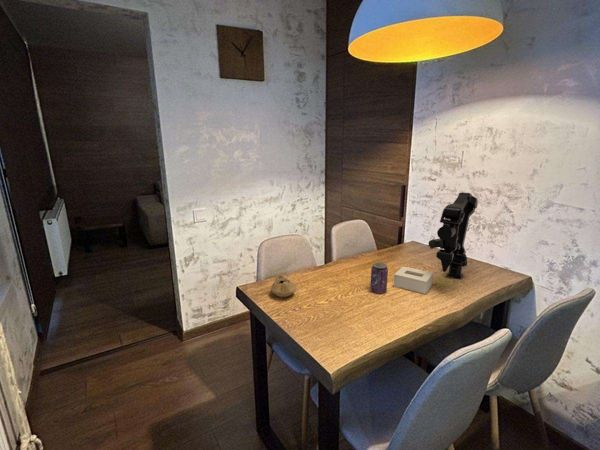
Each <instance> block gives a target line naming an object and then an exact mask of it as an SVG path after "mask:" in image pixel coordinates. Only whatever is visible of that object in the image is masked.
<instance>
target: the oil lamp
mask: <svg viewBox="0 0 600 450" xmlns="http://www.w3.org/2000/svg"><path fill="white" fill-rule="evenodd" d="M270 291H271V292H272V293H273V294H274V295H275V296H277V297H280V298H288V297H289V296H291V295H292V294H294V293H295V292H296V291H297V286H296V284H295V282H292V281H291V280H290V279H288V278H286V277H284V276H283V275H277V276H276V277H275V280H274V282H273V283H272V285H271V286H270Z"/></svg>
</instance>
